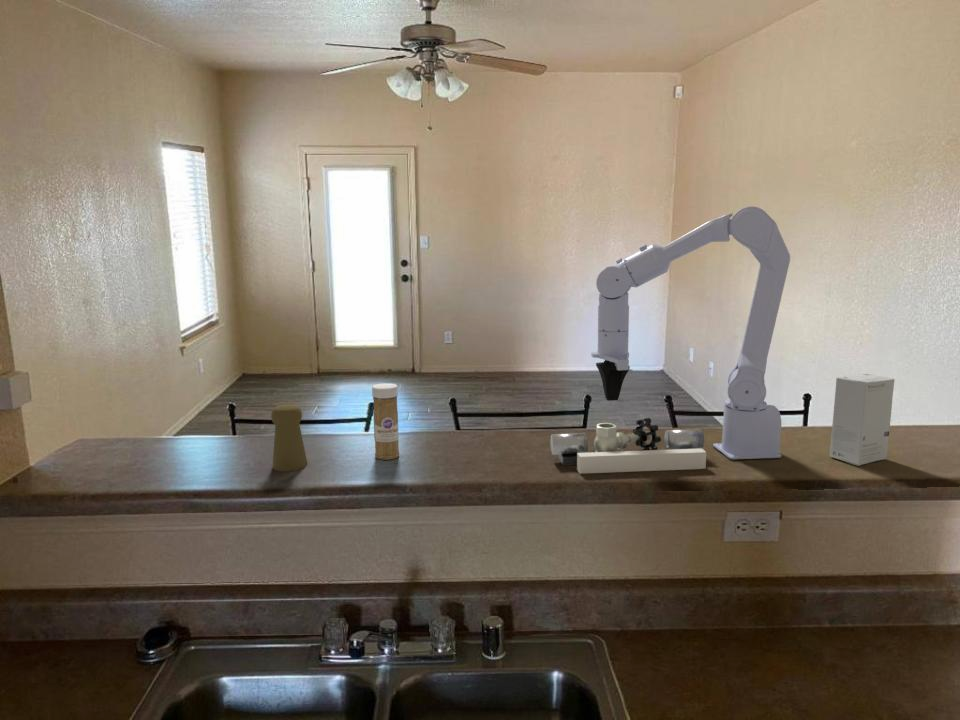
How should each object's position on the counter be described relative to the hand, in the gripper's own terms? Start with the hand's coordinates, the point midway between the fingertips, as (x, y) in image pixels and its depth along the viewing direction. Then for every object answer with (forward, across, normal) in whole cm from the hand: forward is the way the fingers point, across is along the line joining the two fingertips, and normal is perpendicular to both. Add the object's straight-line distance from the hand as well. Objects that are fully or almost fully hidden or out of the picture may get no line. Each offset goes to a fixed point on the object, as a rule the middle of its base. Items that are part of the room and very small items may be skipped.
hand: (611, 399), depth 134 cm
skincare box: (+9, +15, +41) cm, 44 cm away
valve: (+8, +10, 0) cm, 13 cm away
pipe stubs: (+8, +11, 0) cm, 14 cm away
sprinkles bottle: (+8, +5, -43) cm, 44 cm away
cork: (+8, +8, -60) cm, 61 cm away
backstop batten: (+8, +16, +1) cm, 18 cm away
